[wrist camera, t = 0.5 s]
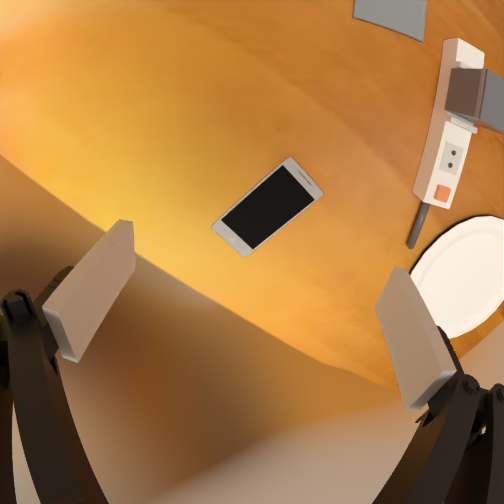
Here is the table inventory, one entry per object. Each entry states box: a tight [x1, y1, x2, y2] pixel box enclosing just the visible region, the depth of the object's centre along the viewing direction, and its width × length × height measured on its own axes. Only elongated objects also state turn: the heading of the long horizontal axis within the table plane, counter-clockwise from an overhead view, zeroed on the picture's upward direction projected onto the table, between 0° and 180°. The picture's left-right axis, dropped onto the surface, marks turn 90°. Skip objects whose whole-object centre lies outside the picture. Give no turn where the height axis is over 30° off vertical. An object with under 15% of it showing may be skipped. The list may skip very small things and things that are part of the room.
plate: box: [410, 216, 504, 339], centre depth 45 cm, size 29×29×2 cm
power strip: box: [407, 38, 484, 249], centre depth 32 cm, size 33×5×5 cm, turn 173°
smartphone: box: [211, 157, 323, 257], centre depth 42 cm, size 7×16×1 cm, turn 134°
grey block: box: [444, 68, 504, 135], centre depth 23 cm, size 6×6×8 cm
